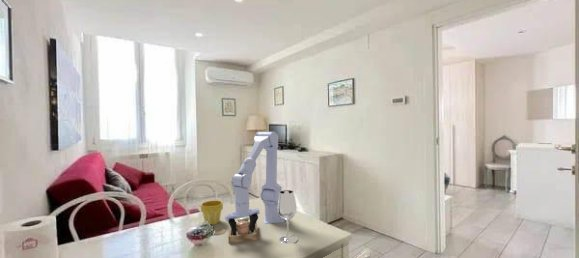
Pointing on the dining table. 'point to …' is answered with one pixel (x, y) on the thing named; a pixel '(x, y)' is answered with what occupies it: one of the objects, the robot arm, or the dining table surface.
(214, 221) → the plant pot
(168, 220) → the dining table surface
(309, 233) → the dining table surface
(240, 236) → the wooden tray
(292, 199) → the wineglass
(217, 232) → the cork mat
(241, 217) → the sage pot
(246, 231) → the terracotta pot
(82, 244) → the dining table surface
